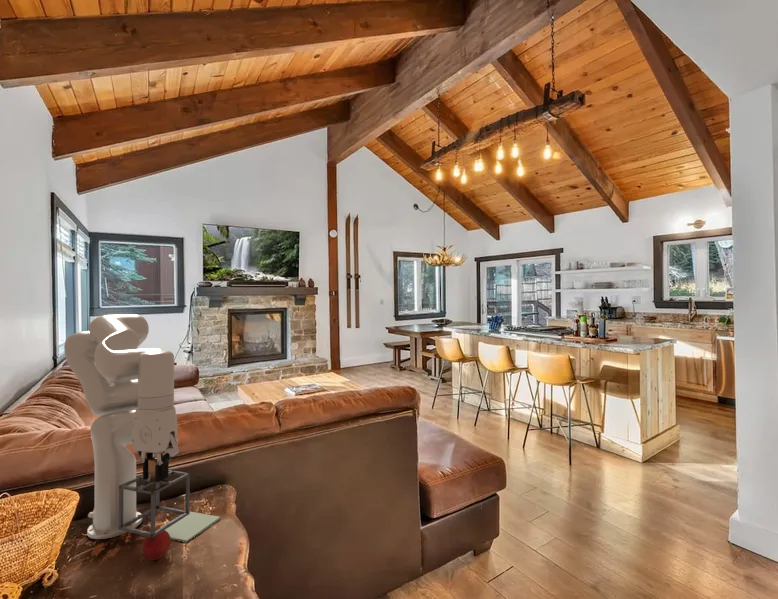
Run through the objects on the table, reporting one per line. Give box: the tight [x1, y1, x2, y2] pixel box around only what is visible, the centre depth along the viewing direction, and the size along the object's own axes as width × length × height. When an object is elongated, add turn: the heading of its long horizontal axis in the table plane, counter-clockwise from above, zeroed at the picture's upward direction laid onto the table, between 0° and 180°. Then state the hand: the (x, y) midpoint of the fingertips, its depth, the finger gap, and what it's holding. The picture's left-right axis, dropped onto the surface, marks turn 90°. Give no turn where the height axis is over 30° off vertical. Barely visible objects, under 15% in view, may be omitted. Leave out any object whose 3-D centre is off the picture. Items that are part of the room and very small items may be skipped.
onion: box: [141, 524, 172, 561], centre depth 93 cm, size 6×6×8 cm
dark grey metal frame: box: [119, 455, 191, 537], centre depth 94 cm, size 10×10×15 cm
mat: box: [160, 511, 221, 543], centre depth 107 cm, size 12×12×1 cm
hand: (155, 477), depth 94 cm, fingers closed on dark grey metal frame, 3 cm apart
